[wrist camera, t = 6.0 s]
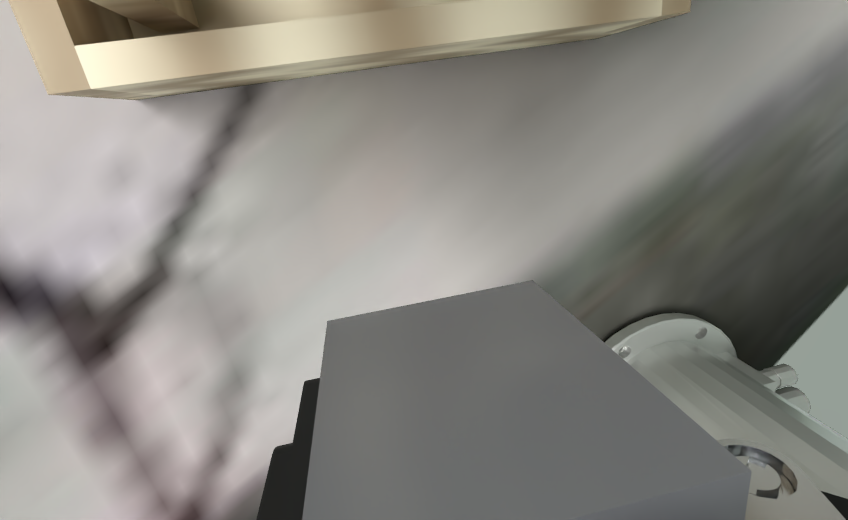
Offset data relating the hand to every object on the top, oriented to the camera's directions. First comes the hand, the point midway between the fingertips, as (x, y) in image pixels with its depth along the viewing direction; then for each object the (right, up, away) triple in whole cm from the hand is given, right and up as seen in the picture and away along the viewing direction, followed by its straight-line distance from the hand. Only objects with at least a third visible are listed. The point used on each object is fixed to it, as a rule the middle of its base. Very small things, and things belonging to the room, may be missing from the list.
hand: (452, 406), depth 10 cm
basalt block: (0, 0, +1) cm, 1 cm away
